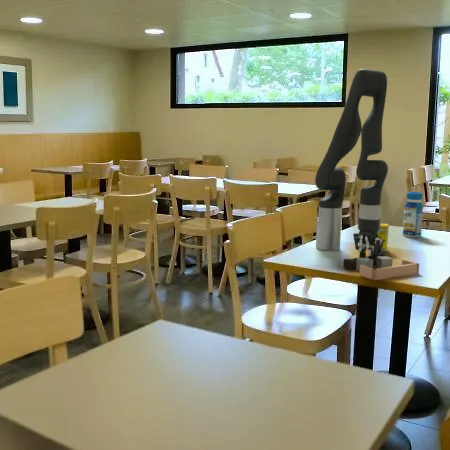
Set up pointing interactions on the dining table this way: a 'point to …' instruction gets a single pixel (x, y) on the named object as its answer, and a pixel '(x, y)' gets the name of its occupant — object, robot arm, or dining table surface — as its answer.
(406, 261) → the pink rectangular tray
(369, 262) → the stone
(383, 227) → the supplement box
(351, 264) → the hand tool
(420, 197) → the beverage bottle
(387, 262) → the stone
